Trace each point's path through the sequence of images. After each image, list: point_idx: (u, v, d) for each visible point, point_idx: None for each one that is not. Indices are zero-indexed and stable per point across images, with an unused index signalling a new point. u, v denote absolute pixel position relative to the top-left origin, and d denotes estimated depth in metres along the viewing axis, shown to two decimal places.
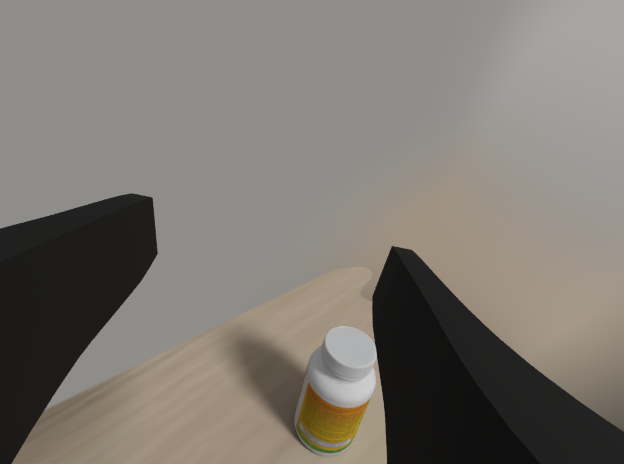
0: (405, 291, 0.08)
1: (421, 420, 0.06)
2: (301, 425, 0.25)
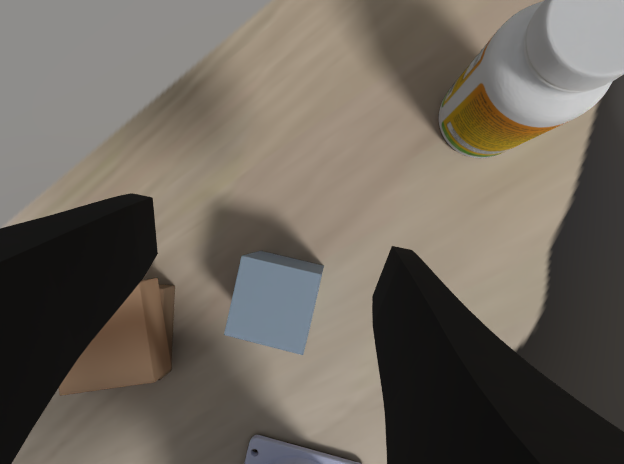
0: (405, 291, 0.08)
1: (421, 420, 0.06)
2: (449, 126, 0.19)
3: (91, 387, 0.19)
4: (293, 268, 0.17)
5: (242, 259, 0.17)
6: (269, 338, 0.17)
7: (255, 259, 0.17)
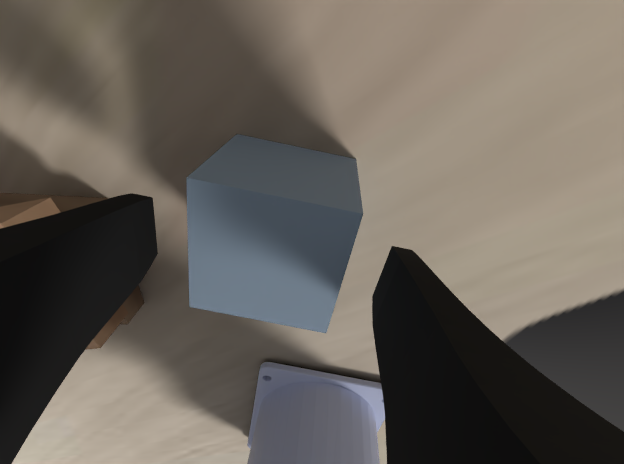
0: (405, 291, 0.08)
1: (421, 420, 0.06)
2: None
3: None
4: (302, 201, 0.08)
5: (190, 184, 0.08)
6: (267, 312, 0.10)
7: (218, 184, 0.08)
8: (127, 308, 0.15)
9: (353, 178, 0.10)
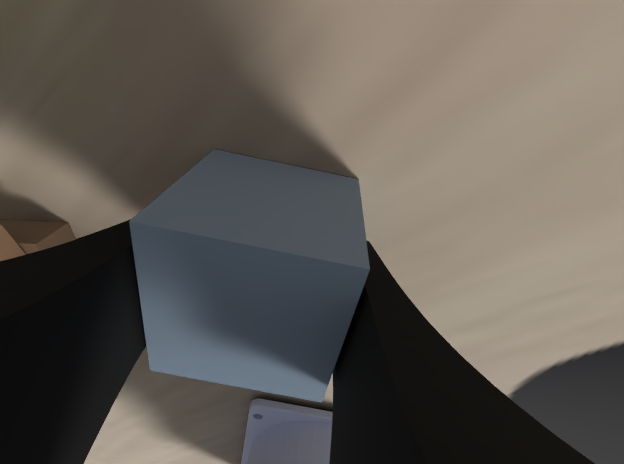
0: None
1: (353, 407, 0.06)
2: None
3: None
4: (288, 251, 0.06)
5: (135, 230, 0.06)
6: (247, 378, 0.08)
7: (173, 229, 0.06)
8: None
9: (356, 210, 0.08)
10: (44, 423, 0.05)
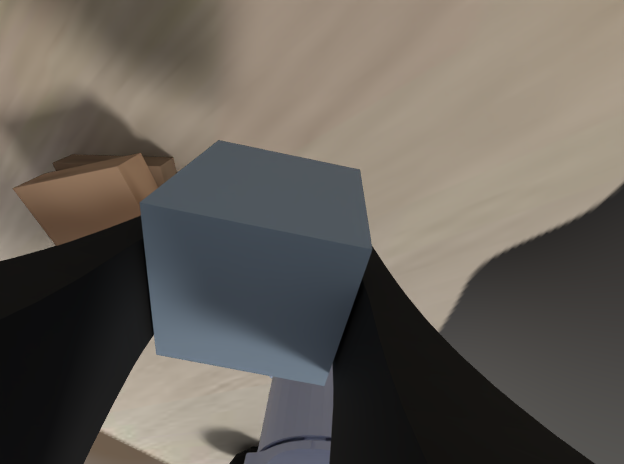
0: None
1: (353, 407, 0.06)
2: None
3: None
4: (293, 232, 0.06)
5: (145, 211, 0.06)
6: (252, 361, 0.08)
7: (182, 211, 0.06)
8: None
9: (358, 197, 0.08)
10: (44, 423, 0.05)
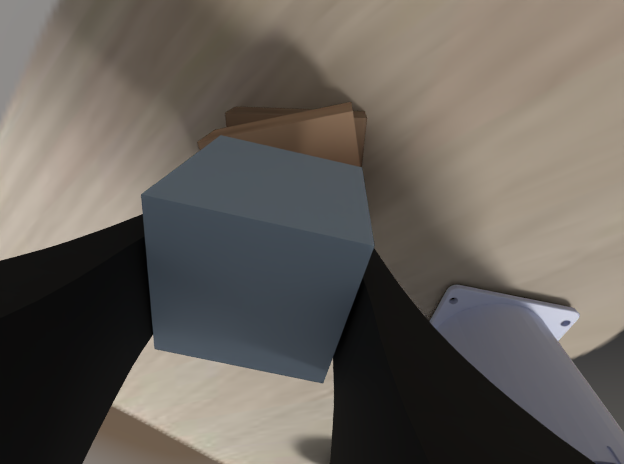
0: None
1: (354, 407, 0.06)
2: None
3: None
4: (295, 227, 0.06)
5: (146, 203, 0.06)
6: (250, 357, 0.08)
7: (183, 203, 0.06)
8: None
9: (360, 194, 0.08)
10: (43, 422, 0.05)
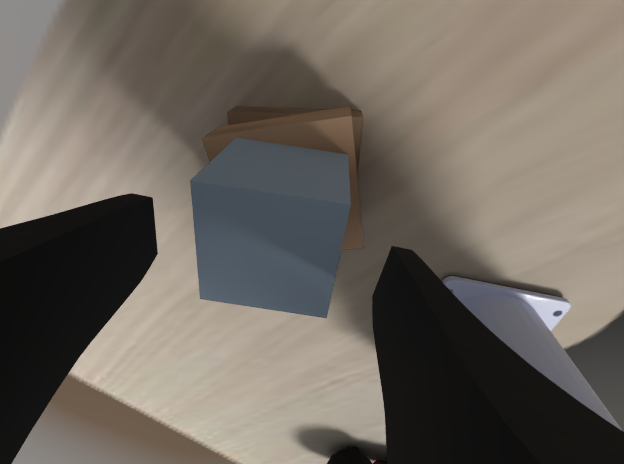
0: (405, 291, 0.08)
1: (421, 420, 0.06)
2: None
3: None
4: (295, 196, 0.09)
5: (194, 186, 0.09)
6: (271, 300, 0.11)
7: (218, 184, 0.09)
8: None
9: (344, 173, 0.11)
10: None
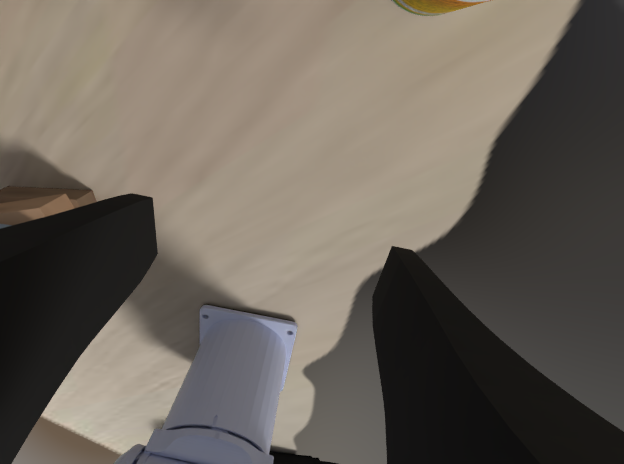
0: (405, 291, 0.08)
1: (421, 420, 0.06)
2: None
3: None
4: None
5: None
6: None
7: None
8: None
9: None
10: None
